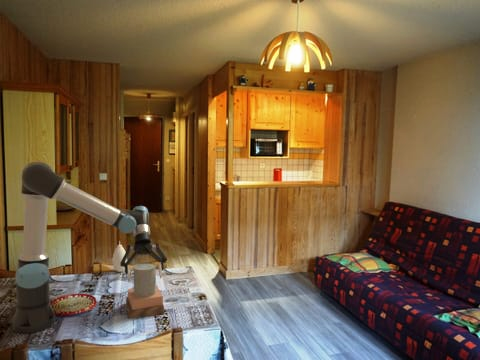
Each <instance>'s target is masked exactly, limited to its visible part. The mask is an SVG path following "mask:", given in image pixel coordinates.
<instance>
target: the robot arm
mask: <svg viewBox="0 0 480 360" xmlns="http://www.w3.org/2000/svg"><path fill="white" fill-rule="evenodd" d="M21 172H22V173H21V195H22V196H23V197H24V215H23V217H24V218H23V219H24V220H23V221H24V222H23V238H22V239H23V240H22V253H21V254H20V255H19V256H18V259H17V270H16V271H15V278H14V279H15V281H14V282H15V292H16V296H15V297H16V310H15V313H14V317H13V320H12V324H11V325H12V331H14V332H15V333H19V334H33V333H36V332H37V333H38V332H41V331H43V330H46V329H48V328H50V327H52V325H54V324H55V322H56V313H55V311H54V309H53V306H52V304H51V297H50V295H51V294H50V292H51V291H50V276H51V275H50V269H49V264H50V263H49V262H50V254H48V253H47V252H46V247H47V246H46V245H47V229H48V228H47V227H48V211H49V209H48V207H49V199H50V200H54V199H55V200H59V201H60V202H62V203H64V204H67V205H68V206H69V207H73V208H74V209H77V210H79V211H80V212H83V213H85V214H86V215H89V216H91V217H93V218H95V219H97V220H99V221H102V222H104V223H105V224H107V225H110V226H112V227H113V228H116V229H118V230H119V232H121V233H124V234H131V233H133V243H134V244H133V246H132V245H129V244H128V245H127V248H126V250H125V252H126V253H125V255H124V257H123V259H122V261H121V263H120V266H121V267H122V266H123V267H125V269H124V273H125V274H126V275H127V281H128V282H131V271H130V268H131V266H130V264H131V263H132V262H133V261H134V259H136V257H138V256H147V255H149V256H151V257H152V258H153V259H154V260H155V261H156V262H157V263H158V272H159V273H158V274H159V279H162V278H163V271H164V269H165V268H164V267H165V266H164V264H165V263H167V262H168V261H167V260H168V259H167V256H166V255H165V254H164V252H163V251H162V250H161V248H160V246H159V243H158V242H157V243H155V244H153V243H152V241H151V230H150V215H149V210H148V208H147V207H146V206H144V205H139V206H138V205H137V206H134V208H133V209H132V210H130V209H120V208H117V207H115V206H113V205H111V204H109V203H108V202H105V201H103V200H101V199H99V198H98V197H96V196H94V195H92V194H90V193H87V192H85V190H81V189H80V188H78V187H76V186H75V185H73V184H70V183H68V182H66V179H65V178H64V177H62V176H60V175H59V174H58V173H56V172H54V171H53V169H52V166H50V165H49V164H47V163H45V162H41V161H33V162H30V163H28V164H27V165H26V166H25V167H24V168H23V170H22V171H21ZM153 249H154V250H155V251H156V252H154V251H153ZM133 250H134V252H133V253H132V254H131V256H130V257H129V255H130V253H131V252H132V251H133ZM126 259H127V262H126V263H125V261H126Z"/></svg>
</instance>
